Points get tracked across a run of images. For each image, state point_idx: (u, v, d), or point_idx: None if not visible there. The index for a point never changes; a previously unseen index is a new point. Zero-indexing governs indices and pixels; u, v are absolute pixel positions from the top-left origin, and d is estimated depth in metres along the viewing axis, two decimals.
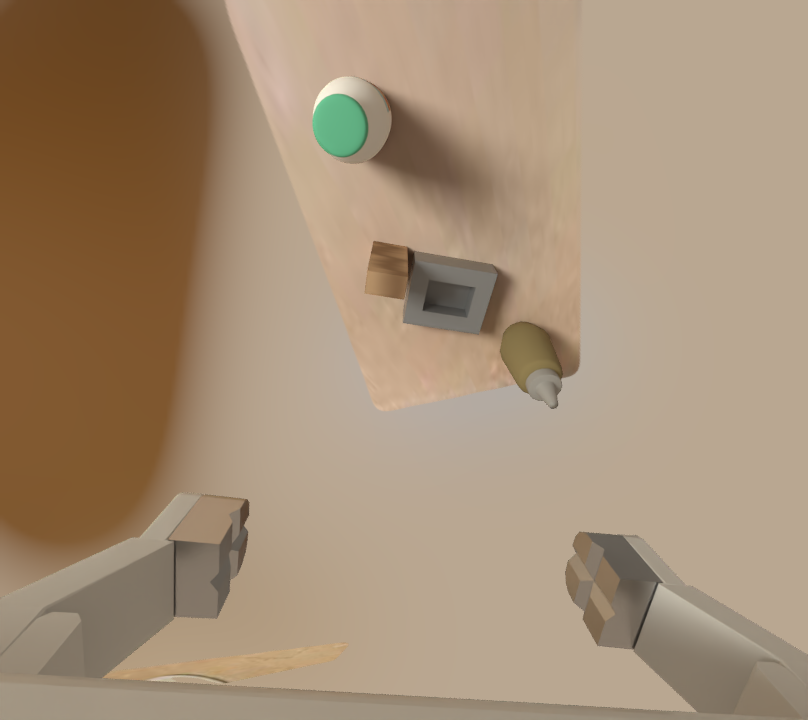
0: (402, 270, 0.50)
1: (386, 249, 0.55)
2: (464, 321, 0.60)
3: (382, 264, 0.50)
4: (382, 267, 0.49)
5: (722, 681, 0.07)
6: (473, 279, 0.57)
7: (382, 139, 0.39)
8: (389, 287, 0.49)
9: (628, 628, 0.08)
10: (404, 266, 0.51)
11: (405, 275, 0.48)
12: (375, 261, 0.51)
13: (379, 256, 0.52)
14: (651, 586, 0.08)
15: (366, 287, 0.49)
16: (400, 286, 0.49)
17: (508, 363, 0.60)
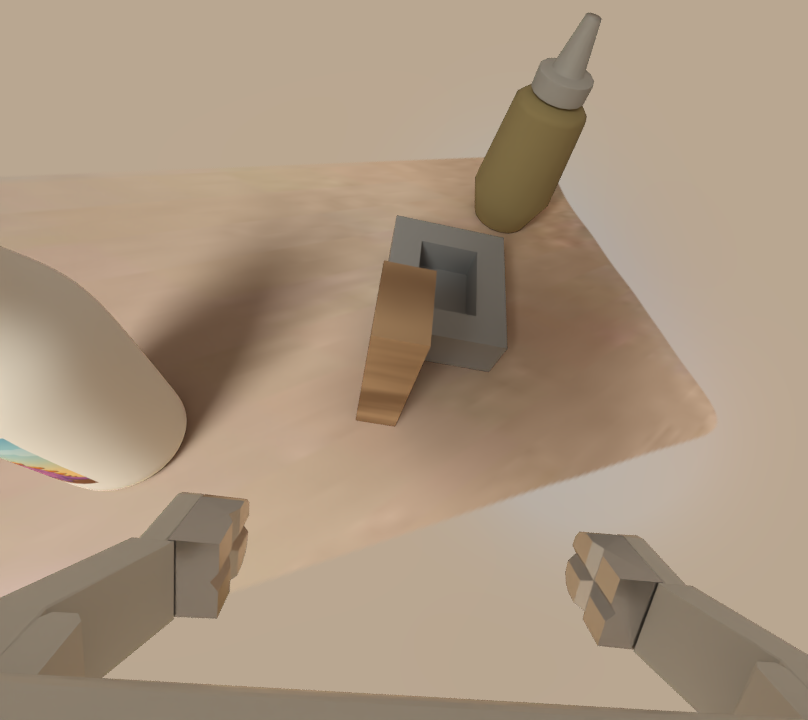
0: None
1: None
2: (484, 255, 0.35)
3: (370, 336, 0.23)
4: (372, 325, 0.22)
5: (722, 681, 0.07)
6: (408, 243, 0.34)
7: None
8: (410, 295, 0.21)
9: (628, 628, 0.08)
10: None
11: (382, 270, 0.22)
12: None
13: None
14: (650, 586, 0.08)
15: (414, 341, 0.20)
16: (406, 275, 0.22)
17: (542, 175, 0.36)
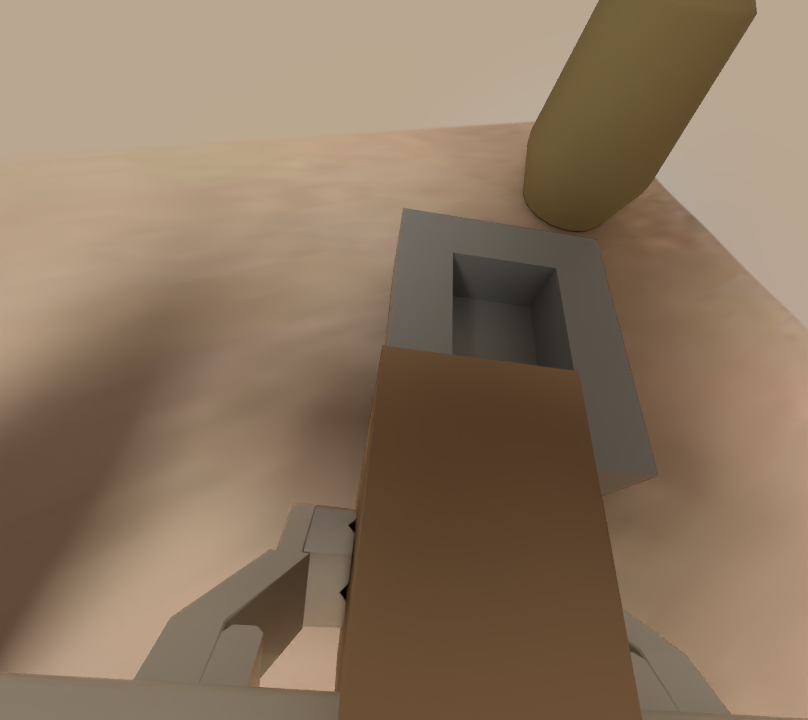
0: None
1: None
2: (570, 274, 0.19)
3: (347, 607, 0.06)
4: (349, 603, 0.06)
5: None
6: (428, 259, 0.18)
7: None
8: (504, 505, 0.05)
9: None
10: None
11: (377, 378, 0.06)
12: (339, 668, 0.07)
13: (342, 630, 0.09)
14: None
15: None
16: (472, 404, 0.05)
17: (663, 122, 0.20)
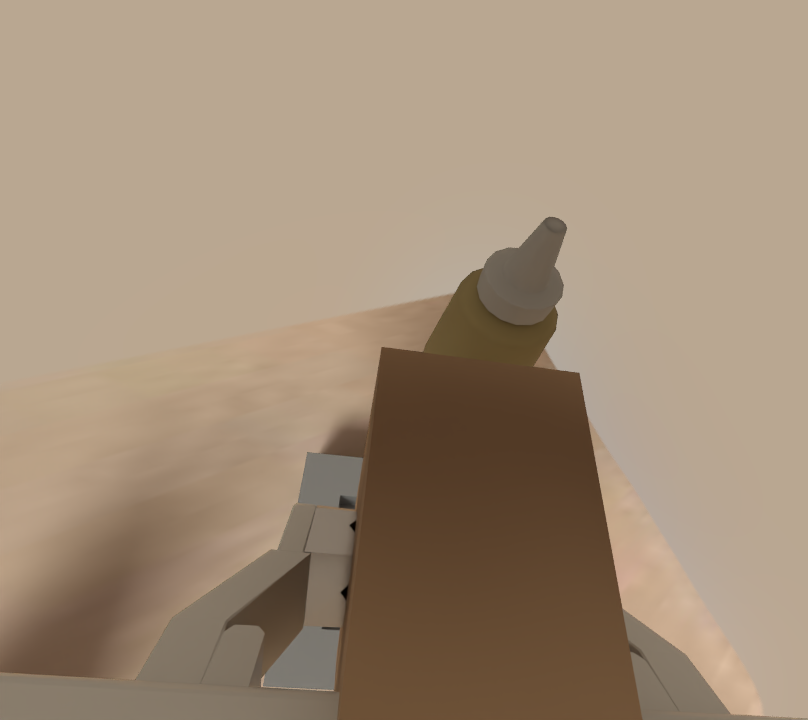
0: (368, 438, 0.07)
1: None
2: None
3: (347, 609, 0.06)
4: (348, 606, 0.05)
5: None
6: None
7: None
8: (504, 509, 0.05)
9: None
10: (365, 449, 0.09)
11: (377, 380, 0.06)
12: (338, 671, 0.07)
13: None
14: None
15: None
16: (472, 405, 0.05)
17: None
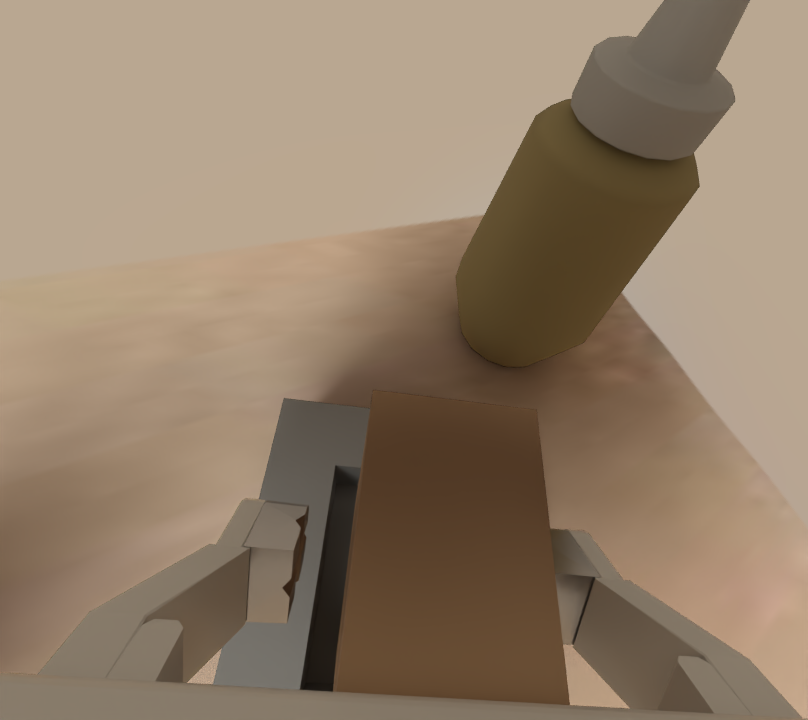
0: None
1: None
2: None
3: None
4: None
5: (651, 676, 0.07)
6: (301, 480, 0.15)
7: None
8: (469, 524, 0.06)
9: (567, 623, 0.08)
10: (361, 466, 0.10)
11: (369, 416, 0.07)
12: None
13: None
14: (588, 581, 0.08)
15: None
16: (446, 439, 0.07)
17: (595, 293, 0.16)
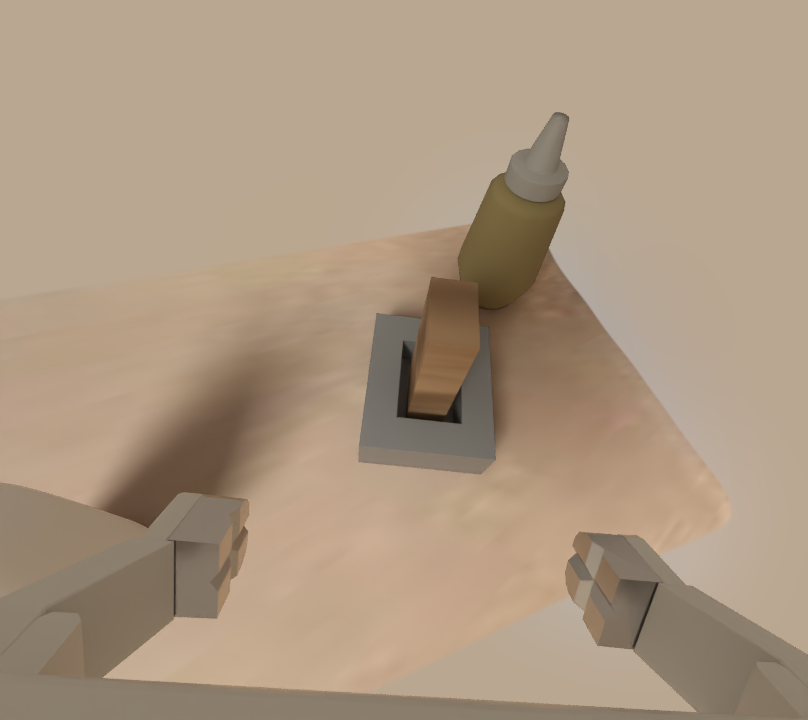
0: (426, 305, 0.26)
1: (411, 384, 0.31)
2: None
3: (422, 343, 0.26)
4: (425, 333, 0.25)
5: (722, 681, 0.07)
6: (388, 345, 0.33)
7: None
8: (458, 305, 0.24)
9: (628, 628, 0.08)
10: (422, 316, 0.28)
11: (430, 285, 0.25)
12: (420, 362, 0.26)
13: (416, 371, 0.28)
14: (650, 586, 0.08)
15: (466, 344, 0.23)
16: (452, 288, 0.25)
17: (523, 261, 0.34)
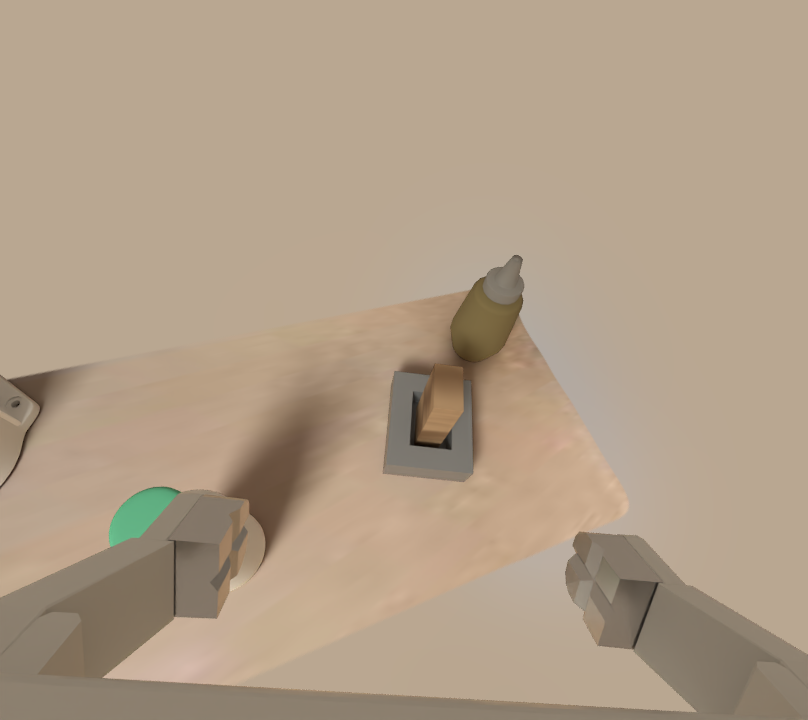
0: (431, 378, 0.42)
1: (418, 422, 0.47)
2: None
3: (428, 403, 0.42)
4: (430, 398, 0.41)
5: (722, 681, 0.07)
6: (403, 394, 0.49)
7: (212, 492, 0.32)
8: (450, 383, 0.40)
9: (628, 628, 0.08)
10: (428, 382, 0.44)
11: (434, 368, 0.41)
12: (427, 414, 0.42)
13: (423, 417, 0.44)
14: (650, 586, 0.08)
15: (455, 408, 0.39)
16: (447, 371, 0.41)
17: (495, 337, 0.50)
